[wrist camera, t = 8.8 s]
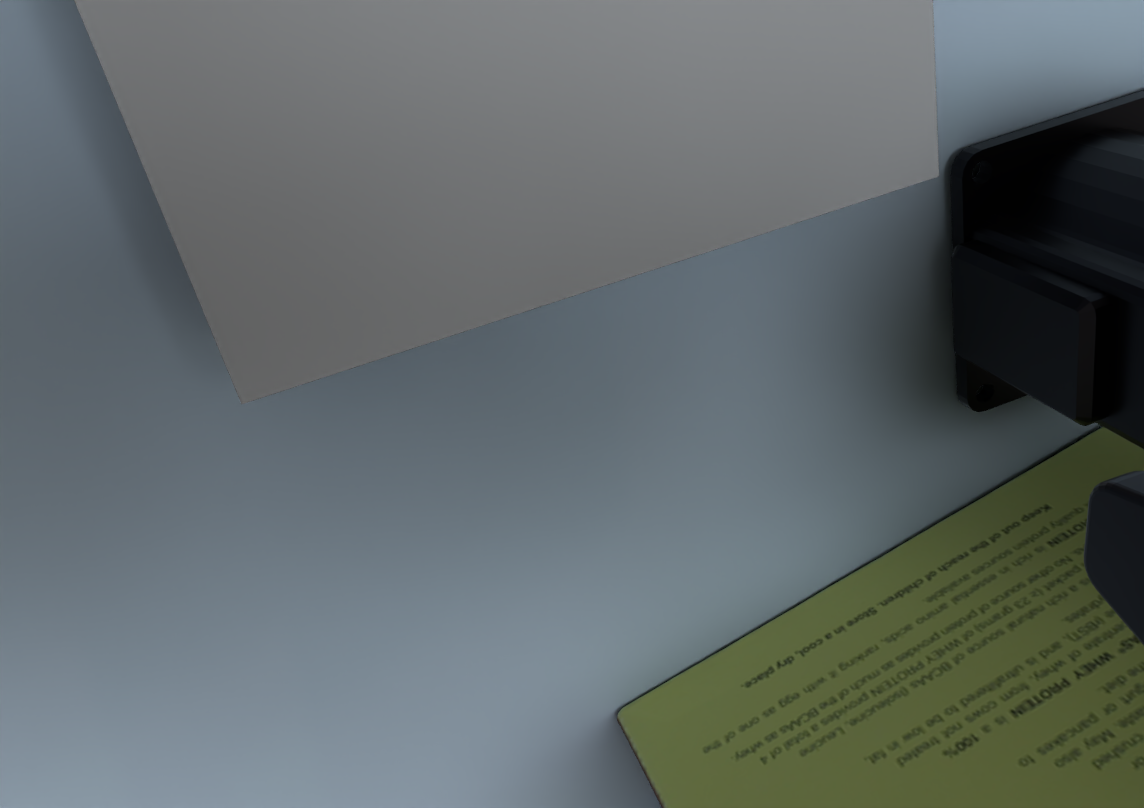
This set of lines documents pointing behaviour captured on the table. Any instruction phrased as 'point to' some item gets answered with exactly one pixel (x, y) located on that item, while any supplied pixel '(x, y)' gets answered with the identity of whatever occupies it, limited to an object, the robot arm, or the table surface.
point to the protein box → (926, 674)
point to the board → (492, 150)
